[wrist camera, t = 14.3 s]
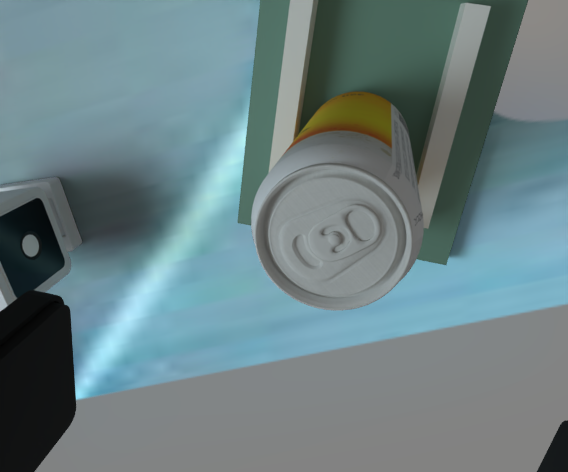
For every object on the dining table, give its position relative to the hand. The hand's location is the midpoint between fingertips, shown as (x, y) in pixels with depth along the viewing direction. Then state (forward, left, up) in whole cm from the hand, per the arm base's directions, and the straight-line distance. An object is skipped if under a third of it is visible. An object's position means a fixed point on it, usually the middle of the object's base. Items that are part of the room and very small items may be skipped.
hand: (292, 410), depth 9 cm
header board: (-4, 0, -24) cm, 24 cm away
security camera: (+10, -22, -24) cm, 34 cm away
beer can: (0, 0, -23) cm, 23 cm away
